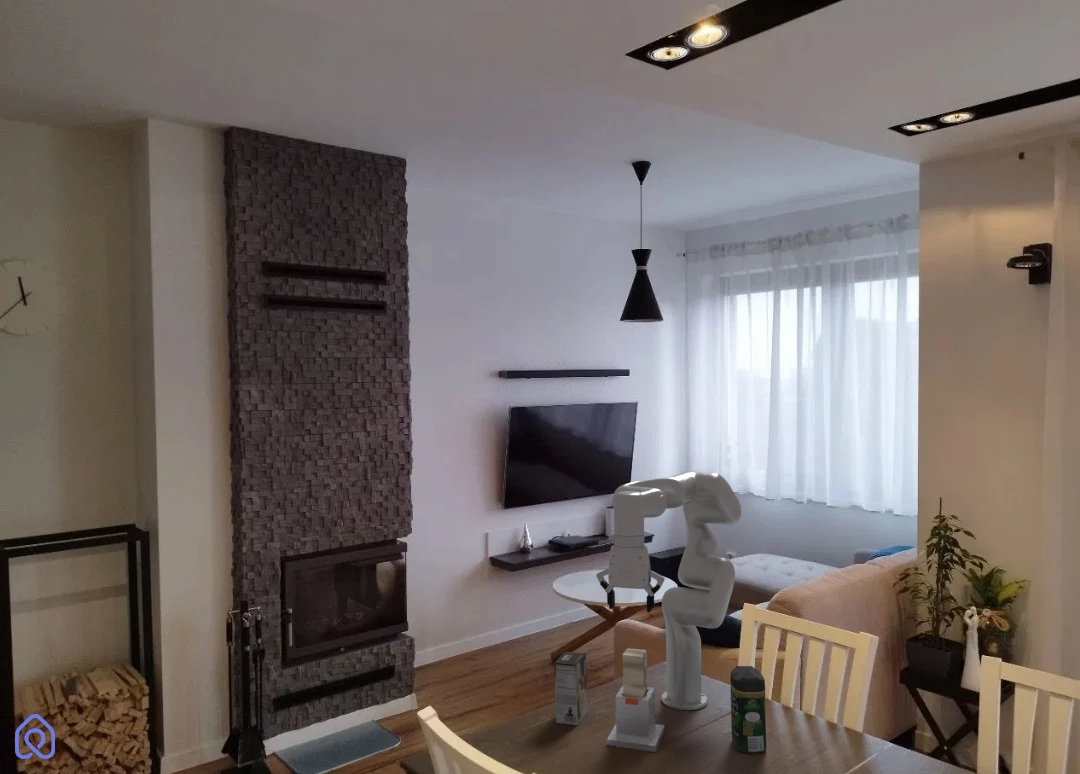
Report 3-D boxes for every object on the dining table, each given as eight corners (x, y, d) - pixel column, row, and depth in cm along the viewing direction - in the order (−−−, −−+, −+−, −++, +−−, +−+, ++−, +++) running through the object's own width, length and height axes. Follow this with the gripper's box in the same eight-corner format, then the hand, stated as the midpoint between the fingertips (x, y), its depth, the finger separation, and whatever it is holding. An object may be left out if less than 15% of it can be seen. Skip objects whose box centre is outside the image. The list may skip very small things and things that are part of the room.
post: (628, 726, 198) (627, 648, 198) (648, 729, 196) (646, 650, 196) (624, 735, 193) (622, 654, 193) (643, 737, 191) (642, 656, 191)
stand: (618, 725, 202) (617, 681, 202) (664, 731, 198) (663, 686, 198) (606, 745, 191) (606, 698, 191) (655, 752, 187) (654, 704, 187)
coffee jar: (728, 736, 194) (727, 662, 194) (760, 737, 194) (759, 662, 194) (735, 755, 185) (734, 677, 185) (769, 755, 184) (768, 677, 184)
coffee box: (565, 709, 213) (564, 650, 213) (588, 712, 211) (586, 652, 211) (555, 723, 204) (554, 662, 204) (578, 726, 202) (577, 664, 202)
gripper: (591, 542, 194) (593, 610, 194) (660, 545, 188) (661, 616, 188) (600, 536, 201) (601, 602, 201) (666, 539, 195) (667, 607, 195)
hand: (630, 609), depth 195 cm, fingers open, 9 cm apart
